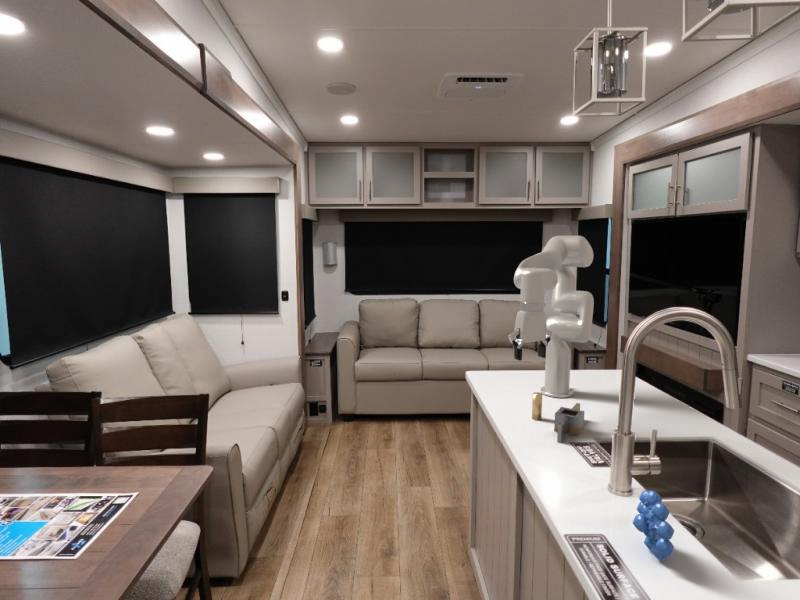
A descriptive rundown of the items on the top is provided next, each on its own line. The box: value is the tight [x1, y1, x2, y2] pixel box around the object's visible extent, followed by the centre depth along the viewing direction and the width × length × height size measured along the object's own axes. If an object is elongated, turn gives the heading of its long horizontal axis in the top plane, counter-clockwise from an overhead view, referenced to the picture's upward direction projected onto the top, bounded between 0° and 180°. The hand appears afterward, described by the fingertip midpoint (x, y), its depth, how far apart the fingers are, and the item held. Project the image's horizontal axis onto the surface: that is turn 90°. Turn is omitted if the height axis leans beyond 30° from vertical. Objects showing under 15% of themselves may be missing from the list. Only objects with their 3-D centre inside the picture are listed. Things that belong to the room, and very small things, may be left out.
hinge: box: [553, 402, 585, 444], centre depth 155 cm, size 24×8×6 cm, turn 146°
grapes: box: [632, 489, 675, 562], centre depth 94 cm, size 12×7×12 cm, turn 177°
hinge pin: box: [531, 391, 543, 421], centre depth 165 cm, size 3×3×9 cm
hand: (530, 358), depth 158 cm, fingers open, 9 cm apart
